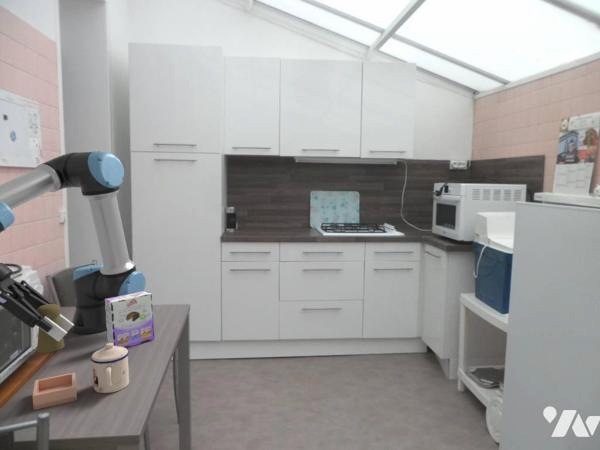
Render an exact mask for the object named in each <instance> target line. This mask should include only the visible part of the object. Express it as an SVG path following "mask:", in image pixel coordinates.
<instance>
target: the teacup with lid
mask: <svg viewBox="0 0 600 450" xmlns="http://www.w3.org/2000/svg"><path fill="white" fill-rule="evenodd" d="M90 360H91V363H92V378H93V389H94V391H95V392H97V393H99V394H112V393H116V392H118V391H121V390H123V389H125V388H126V387H127V386H128V385H129V384H130V372H129V371H130V370H129V351H128V348H124V347H118V346H114V344H113V343H108V342H107V343H106V344H105V346H104V347H102V348H100V349H98V350H96V351H95V352H94V353H93V354H92V355H91V358H90Z"/></svg>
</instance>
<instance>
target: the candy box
mask: <svg viewBox="0 0 600 450" xmlns="http://www.w3.org/2000/svg"><path fill="white" fill-rule="evenodd" d="M105 311H106V327H107V330H106V337H107V339H106V340H107V341H106V342H107V343H113V344H114V346H118V347H124V348H126V349H128V348H130V347H134V346H137V345H140V344H143V343H146V342H150V341H153V340H155V324H154V312H153V311H154V310H153V295H152V293H150V292H148V291H146V290H144V291H142V292H137V293H132V294H127V295H123V296H118V297H113V298H108V299H105Z"/></svg>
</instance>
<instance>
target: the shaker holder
mask: <svg viewBox="0 0 600 450" xmlns="http://www.w3.org/2000/svg"><path fill="white" fill-rule="evenodd" d="M76 377H77V376H76V372H71V373H65V374H61V375H55V376H49V377H45V378H40V379H36V380H34V385H33V392H32V404H33V411H35V410H39V409H40V410H41V409H43V408H49V407H53V406H57V405H61V404H65V403H71V402H74V401H78V400H77V399H78V397H77V396H78V395H77V393H78V392H77V378H76Z"/></svg>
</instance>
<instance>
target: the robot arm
mask: <svg viewBox="0 0 600 450" xmlns="http://www.w3.org/2000/svg"><path fill="white" fill-rule="evenodd" d="M123 178H125V169H124V166H123V164H122V161H121V160H120V159H119V158H118V157H117V156H115V155H114V154H113V153H111V152H108V151H100V150H99V151H85V152H83V151H82V152H75V151H74V152H68V153H65V154H62V155H59V156H57V157H54V158H52V159H50V160H48V161H45V162H43V163H40V164H38V165H36V167H35V169H34V170H32V171H30V172H27V173H25V174H23V175H21V176H18V177H16V178H13V179H11V180H9V181H6V182H4V183H2V184H0V233H2V232H3V231H6V229H7V228H9V227H10V226H11V225H13V224H14V223H15V220H16V216H15V213H14V212H13V209H15V208H17V207H19V206H21V205H22V206H23V204H25V203H27V202H30V201H31V200H34V199H36V198H38V197H39V196H42V195H44V194H46V193H48V192H49V193H57V192H58V191H60V190H64V189H70V188H80V190H81V195H82V196H83V198H85V199H87V200H88V202H89V207H90V212H91V216H92V219H93V220H92V221H93V224H94V228H95V233H96V239H97V242H98V246H99V251H100V255H101V260H102V263H101V264H91V265H87V266H82V267H78V268H77V269H75V270H74V271H73V273H72V275H73V277H72V279H73V280H72V282H73V293H74V305H75V307H74V308H75V309H74V313H73V317H72V321H70V320H69V319H68V318H66V317H65V316H64V315H62V314H61V313H60V315H59V316H58V318H59V322H60V326H58V325H57V324H56V323H54V322H53V321H52V320H50V319H49V318H48V317H46V316H45V317H44V318H43V316H42V315H41V314H40V313H39V312H38V311H37V309H38V308H39V307H40V306H42V305H46V304H54V302H52V301H51V300H50V299H48V298H47V297H45V296H44V295H43V294H41V293H40V292H39V291H37V290H36V289H35V288H34V287H32V286H31V285H30V284H29V283H28V282H27V281H26V280H24V279H23V280H21V281H20V282H19V281H17V280H15V279H14V278H11V276H12V274H13V270H12V269H11V268H10V267H9V266H7V265H6V264H5V263H3V262H0V306H1V307H2V308H4V309H6V311H8V312H9V313H10V314H12V315H13V316H15V317H16V318H17V319H18V320H19V321H21V322H22V323H24V324H25V326H28V327H30V328H31V329H33V328H35V327H38V329H39V328H41V329H42V330H43V331H45V332H46V333H47V334H49V335H50V336H51V337H53V338H54V339H55V340H57V341H58V342H59V341H60V340H61V339H62V338H63V339H64V337H65V336H66V335H67V334H68V332H69V331H70V330H71V331H72V332H73V333H75V334H82V335H84V334H96V333H100V332H105V331H107V327H106V311H105V299H108V298H113V297H118V296H123V295H127V294H132V293H137V292H142V291H145V289H146V285H147V284H146V276H145V274H144V273H142V272H141V271H139V270H137V268H136V267H137V265H136V262H134V261H133V260H131V259H130V256H129V250H128V246H127V241H126V236H125V232H124V227H123V223H122V222H123V221H122V217H121V213H120V208H119V202H118V198H117V194H118V193H119V192H120V186H121V185H122V183H123V182H124V179H123ZM42 318H43V319H42Z"/></svg>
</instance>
